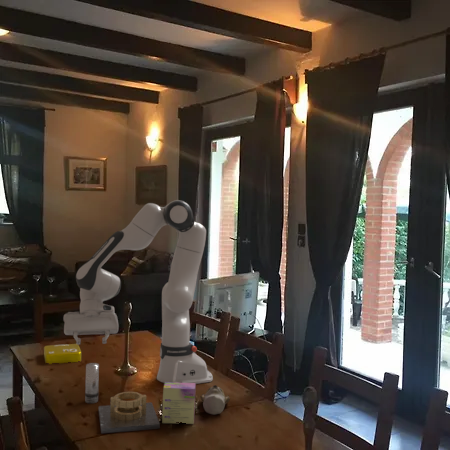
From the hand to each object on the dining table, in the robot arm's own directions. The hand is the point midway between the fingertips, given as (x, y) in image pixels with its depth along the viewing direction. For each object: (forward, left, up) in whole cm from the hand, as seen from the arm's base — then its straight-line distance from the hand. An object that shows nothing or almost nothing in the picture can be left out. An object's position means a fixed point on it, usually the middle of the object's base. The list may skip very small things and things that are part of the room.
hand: (91, 343), depth 199 cm
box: (-27, +34, -18) cm, 47 cm away
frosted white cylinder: (0, +12, -17) cm, 21 cm away
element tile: (+11, -41, -18) cm, 46 cm away
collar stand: (-11, +30, -17) cm, 36 cm away
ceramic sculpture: (-41, +26, -18) cm, 52 cm away
